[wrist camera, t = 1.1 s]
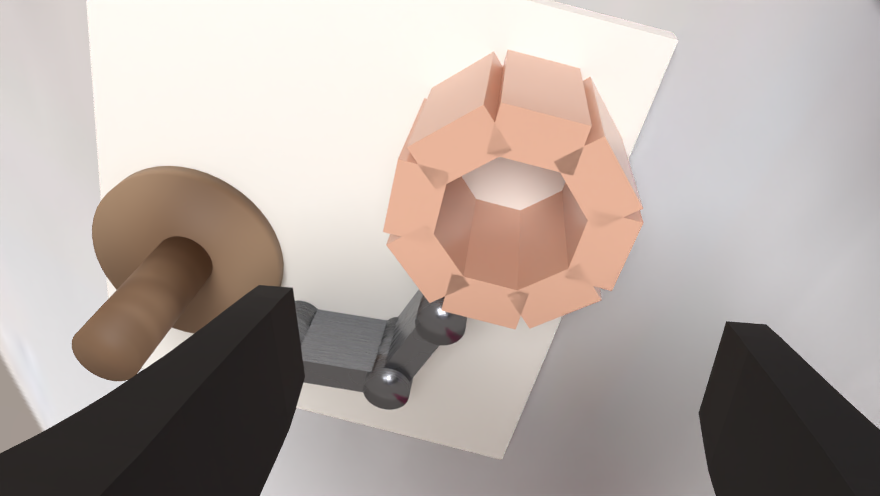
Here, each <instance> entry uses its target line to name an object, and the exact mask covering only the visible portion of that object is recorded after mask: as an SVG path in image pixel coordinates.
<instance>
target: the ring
mask: <svg viewBox="0 0 880 496" xmlns="http://www.w3.org/2000/svg"><path fill="white" fill-rule="evenodd" d="M498 157H503V158H506V159H510V160H514V161H518V162H522V163H526V164H530V165H533V166H537V167H541V168H545V169H549V170H553V171H557V172H560V173H561V175H562V177H563V178H564V180H565V184H564V187H563V190H562V191H560V192H558V193H556V194H554V195H552V196H550V197H548V198H546V199H544V200H541V201H539V202H537V203H535V204H533V205H531V206H529V207H527V208H525V209H523V210H517V209H513V208H509V207H505V206H501V205H498V204H494V203H490V202H486V201H482V200H478V199H476V198H475V196H474V195H473V193H472V192H471V190H470V189H469V187H468V186H467V184H466V183H465V181H464V179H463V178H462V176H463V175H465V174H467V173H469V172H471V171H473V170H475V169H476V168H478V167H480V166H482V165H484V164H486V163H488V162H490V161H492V160H494V159H496V158H498ZM641 209H643V206H642V203H641V200H640V196H639V193H638V189H637V186H636V183H635V179H634V176H633V173H632V169H631V166H630V162H629V159H628V156H627V152H626V149H625V146H624V142H623V139H622V136H621V134H620V132H619V130H618V129H617V127H616V125H615V123H614V121H613V119H612V117H611V115H610V113H609V111H608V109H607V107H606V105H605V103H604V101H603V99H602V98H601V96H600V94H599V92H598V90H597V88H596V86H595V84H594V82H593V80H592V78H591V77H589V78H587V79H585V80H582V75H581V70H580V68H577V67H573V66H570V65H566V64H562V63H558V62H554V61H551V60H547V59H543V58H539V57H535V56H532V55H528V54H524V53H520V52H516V51H512V50H509V49H508V50H507V54H506V57H505V61H504V64H503V66H502V64H501V62H500V61H499V59H498V57H497V56H496V54H495V52H494V51H493V52H492V53H490V54H488V55H487V56H485V57H483V58H482V59H480V60H478V61H476V62H475V63H473V64H471V65H470V66H468V67H466V68H465V69H463V70H461V71H460V72H458V73H456V74H454V75H453V76H451V77H449V78H448V79H446V80H444V81H443V82H441V83H439V84H437V85H436V86H434V87H432V88H431V91H430V93H429V95H428V98H427V99H426V98H424V100H423V102H422V105H421V107H420V109H419V111H418V114H417V116H416V118H415V121H414V123H413V125H412V128H411V130H410V132H409V135H408V137H407V139H406V142H405V144H404V146H403V148H402V151H401V153H400V155H399V158H398V161H397V166H396V171H395V176H394V180H393V185H392V190H391V195H390V200H389V205H388V210H387V214H386V219H385V224H384V229H383V232H385V233H389V234H390V236H389V238H388V241H387V244H386V245H387V247H388V248H389V249H390V251H391V252H392V253H393V255H394V256H395V257H396V259H397V260H398V261H399V263H400V264H401V265H402V267H403V268H404V269H405V271H406V272H407V274H408V275H409V276H410V278H411V279H412V280H413V282H414V283H415V284H416V286H417V287H418V288H419V290H420V291H421V292H422V294H423V295H424V296H425V298H426V299H427V300H428V302H429V303H431V302H433V301H436V300H438V299H440V298H442V297H444V299H443V304H442V309H441V311H445V312H449V313H453V314H457V315H461V316H464V317H468V318H472V319H476V320H480V321H484V322H488V323H492V324H496V325H500V326H504V327H507V328H511V329H515V330H516V327H517V324H518V322H519V319H520V316H521V317H522V318H523V320H524V321H525V322H526V324H527V325H528V327H529V328H533V327H535V326H538V325H540V324H543V323H546V322H548V321H551V320H553V319H556V318H558V317H561V316H563V315H566V314H568V313H571V312H573V311H576V310H578V309H581V308H583V307H586V306H588V305H591V304H593V303H596V302H598V301H601V293H600V288H602V289H606V290H610V291H612V290H613V288H614V285H615V283H616V281H617V279H618V277H619V275H620V272H621V270H622V268H623V266H624V264H625V262H626V259H627V257H628V255H629V253H630V251H631V249H632V246H633V244H634V242H635V240H636V238H637V236H638V233H639V231H640V229H641V227H642V225H643V220H642V216H641V213H640V210H641Z"/></svg>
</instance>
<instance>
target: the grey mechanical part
mask: <svg viewBox="0 0 880 496" xmlns="http://www.w3.org/2000/svg"><path fill="white" fill-rule="evenodd" d="M443 299H444V297H442V298H440V299H438V300H436V301H433V302H431V303H429V302H428V300H427V299H426V298H425V296H424V295H423V294H422V292H421V291H420V290H418V291H417V292H416V294H415V295H414V296H413V298H412V299H411V300H410V302H409V303H408V304H407V306H406V307H405V308H404V310H403V311H402V312H401V314H400V315H399V316H398V317H393V318H390V319H389V320H381V319H375V318H369V317H363V316H357V315H350V314H344V313H338V312H332V311H325V310H319V309H317V308H316V307H315V306H313V305H312V304H310V303H308V302H305V301H295V307H296V314H297V321H298V329H299V336H300V343H301V350H302V358H303V365H304V372H305V379H304V382H303V383H309V384H315V385H321V386H327V387H333V388H339V389H346V390H352V391H358V392H363V393H364V396H365V398H366V399H367V400H368V401H369V402H370V403H371V404H372V405H374V406H376V407H378V408H381V409H386V410H394V409H398V408H400V407H402V406H404V405H405V404H406V403H407V401H408V399H409V395H410V390H411V386H412V382H413V377H414V376H415V375H416V373H417V372H418V371H419V370H420V369H421V367H422V366H423V365H424V364H425V363H426V361H427V360H428V359H429V358H430V356H431V355H432V354H433V353H434V352H435V350H436V349H437V348H438V347H439V346H440V345H451V344H454V343H456V342H457V341H459V340H460V339H461V338H462V337H463V335H464V333H465V329H466V322H467V317H464V316H461V315H457V314H453V313H449V312H445V311H441V309H442V304H443Z"/></svg>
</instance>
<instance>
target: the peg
mask: <svg viewBox="0 0 880 496" xmlns="http://www.w3.org/2000/svg"><path fill="white" fill-rule="evenodd" d="M92 239H93V245H94V249H95V253H96V256H97V259H98V261H99V263H100V266H101V268H102V270H103V271H104V273H105V275H106V276H107V278H108V279H109V281H110V282H111V283H112V285H113V286H114V287H115V288H116V291H115V292H114V293H113V295H112V296H111V297H110V298H109V299H108V300H107V301H106V302H105V303H104V304H103V305H102V306H101V307H100V308H99V310H98V311H97V312H96V313H95V314H94V315H93V316H92V317H91V318H90V319H89V320H88V321H87V322H86V323H85V325H84V326H83V327H82V328H81V329H80V330H79V331H78V332H77V333H76V334H75V335H74V337H73V339H72V350H73V353H74V355H75V357H76V358H77V360H78V361H79V362H80V363H81V364H82V365H83V366H84V367H85V368H86V369H87V370H88V371H90V372H91V373H93V374H95V375H97V376H99V377H101V378H104V379H107V380H111V381H125V380H129V379H131V378H132V377H134V376H135V375H136V374H137V373H138V372H139V370H140V369H141V368H142V366H143V365H144V364H145V362H146V361H147V360H148V358H149V357H150V356H151V354H152V353H153V352H154V350H155V349H156V348H157V346H158V345H159V344H160V342H161V341H162V340H163V338H164V337H165V336H166V334H167V333H168V332H169V330H170V329H171V328H174V329H177V330H181V331H184V332H189V333H196V332H197V331H198V330H200V329H201V328H202V327H204V326H205V325H206V324H208V323H209V322H210V321H212V320H213V319H214V318H215V317H217V316H218V315H219V314H221V313H222V312H223V311H225V310H226V309H227V308H228V307H230V306H231V305H232V304H234V303H235V302H236V301H238V300H239V299H240V298H242V297H243V296H244V295H246V294H247V293H248V292H250V291H251V290H252V289H254V288H255V287H257V286H258V285H265V286H278V287H280V286H281V283H282V278H283V271H284V262H283V254H282V250H281V246H280V243H279V240H278V238H277V236H276V233H275V231H274V230H273V228H272V226H271V224H270V223H269V221H268V220H267V218H266V217H265V216H264V214H263V213H262V212H261V211H260V209H259V208H258V207H257V206H256V205H255V204H254V203H253V202H252V201H251V200H250V199H249V198H248V197H246V196H245V195H244V194H243V193H242V192H240V191H239V190H237V189H236V188H235V187H233V186H232V185H230V184H228V183H227V182H225V181H223V180H221V179H219V178H217V177H215V176H213V175H210V174H208V173H205V172H202V171H199V170H196V169H191V168H186V167H180V166H156V167H151V168H146V169H143V170H140V171H138V172H135V173H133V174H131V175H130V176H128V177H126V178H125V179H124V180H122V181H121V182H120V183H119V184H118V185H116V186H115V187H114V188H113V189H111V190H110V191H109V192H108V193H107V194H106V195H105V196H104V198H103V199H102V200H101V202H100V204H99V205H98V207H97V209H96V212H95V215H94V219H93V225H92Z"/></svg>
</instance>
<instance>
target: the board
mask: <svg viewBox="0 0 880 496" xmlns="http://www.w3.org/2000/svg"><path fill="white" fill-rule="evenodd" d="M86 3H87V17H88V30H89V44H90V58H91V71H92V85H93V99H94V113H95V126H96V140H97V154H98V168H99V181H100V195H101V200H102V199H103V198H104V196H105V195H106V194H107V193H108V192H109V191H110V190H111V189H113V188H114V187H115V186H116V185H118V184H119V183H120V182H121V181H122V180H124V179H125V178H126V177H128V176H130V175H131V174H133V173H135V172H138V171H140V170H143V169H146V168H151V167H156V166H180V167H186V168H191V169H196V170H199V171H202V172H205V173H208V174H210V175H213V176H215V177H217V178H219V179H221V180H223V181H225V182H227V183H228V184H230V185H232V186H233V187H235V188H236V189H237V190H239V191H240V192H242V193H243V194H244V195H245V196H246V197H248V198H249V199H250V200H251V201H252V202H253V203H254V204H255V205H256V206H257V207H258V208H259V209H260V211H261V212H262V213H263V214H264V216H265V217H266V218H267V220H268V221H269V223H270V224H271V226H272V228H273V230H274V231H275V233H276V236H277V238H278V240H279V243H280V246H281V250H282V254H283V262H284V271H283V278H282V283H281V286H280V287H291V288H293V292H294V299H295V301H305V302H308V303H310V304H312V305H313V306H315V307H316V308H317V309H319V310H325V311H332V312H338V313H344V314H350V315H357V316H363V317H369V318H375V319H381V320H389V319H390V318H393V317H398V316H399V315H400V314H401V312H402V311H403V310H404V308H405V307H406V306H407V304H408V303H409V302H410V300H411V299H412V298H413V296H414V295H415V294H416V292H417V291H418V290H419V288H418V287H417V286H416V284H415V283H414V282H413V280H412V279H411V278H410V276H409V275H408V274H407V272H406V271H405V269H404V268H403V267H402V265H401V264H400V263H399V261H398V260H397V259H396V257H395V256H394V255H393V253H392V252H391V251H390V249H389V248H388V247H387V245H386V244H387V241H388V238H389V236H390V234H389V233H385V232H383V229H384V224H385V219H386V214H387V210H388V205H389V200H390V195H391V190H392V185H393V180H394V176H395V171H396V166H397V161H398V158H399V155H400V153H401V151H402V148H403V146H404V144H405V142H406V139H407V137H408V135H409V132H410V130H411V128H412V125H413V123H414V121H415V118H416V116H417V114H418V111H419V109H420V107H421V105H422V102H423V100H424V98H426V99H427V98H428V95H429V93H430V91H431V88H432V87H434V86H436V85H437V84H439V83H441V82H443V81H444V80H446V79H448V78H449V77H451V76H453V75H454V74H456V73H458V72H460V71H461V70H463V69H465V68H466V67H468V66H470V65H471V64H473V63H475V62H476V61H478V60H480V59H482V58H483V57H485V56H487V55H488V54H490V53H492V52H493V51H494V52H495V54H496V56H497V57H498V59H499V61H500V62H501V64H502V66H503V64H504V61H505V57H506V54H507V50H508V49H509V50H512V51H516V52H520V53H524V54H528V55H532V56H535V57H539V58H543V59H547V60H551V61H554V62H558V63H562V64H566V65H570V66H573V67H577V68H580V70H581V75H582V80H585V79H587V78H589V77H591V78H592V80H593V82H594V84H595V86H596V88H597V90H598V92H599V94H600V96H601V98H602V99H603V101H604V103H605V105H606V107H607V109H608V111H609V113H610V115H611V117H612V119H613V121H614V123H615V125H616V127H617V129H618V130H619V132H620V134H621V136H622V139H623V142H624V146H625V149H626V152H627V156H628V159H629V157H630V154H631V152H632V150H633V147H634V145H635V142H636V140H637V138H638V135H639V133H640V131H641V128H642V126H643V123H644V121H645V119H646V116H647V114H648V111H649V109H650V107H651V104H652V102H653V100H654V97H655V95H656V92H657V90H658V88H659V85H660V83H661V81H662V78H663V76H664V73H665V71H666V69H667V66H668V64H669V61H670V59H671V57H672V54H673V52H674V50H675V47H676V45H677V42H678V39H677V37H676V36H675V35H674V33H673V32H670V31H666V30H663V29H659V28H655V27H651V26H647V25H644V24H640V23H636V22H632V21H628V20H625V19H621V18H617V17H613V16H610V15H606V14H602V13H598V12H594V11H591V10H587V9H583V8H579V7H575V6H572V5H568V4H564V3H560V2H556V1H553V0H86ZM462 178H463V179H464V181H465V183H466V184H467V186H468V187H469V189H470V190H471V192H472V193H473V195H474V196H475V198H476V199H478V200H482V201H486V202H490V203H494V204H498V205H501V206H505V207H509V208H513V209H517V210H523V209H525V208H527V207H529V206H531V205H533V204H535V203H537V202H539V201H541V200H544V199H546V198H548V197H550V196H552V195H554V194H556V193H558V192H560V191H562V190H563V187H564V184H565V180H564V178H563V177H562V175H561V173H560V172H557V171H553V170H549V169H545V168H541V167H537V166H533V165H530V164H526V163H522V162H518V161H514V160H510V159H506V158H503V157H498V158H496V159H494V160H492V161H490V162H488V163H486V164H484V165H482V166H480V167H478V168H476V169H475V170H473V171H471V172H469V173H467V174H465V175H463V176H462ZM106 277H107V276H106ZM107 291H108V299H109V298H110V297H111V296H112V295H113V293H114V292H115V291H116V288H115V287H114V286H113V285H112V283H111V282H110V281H109V279H108V278H107ZM561 319H562V316H561V317H558V318H556V319H553V320H551V321H548V322H546V323H543V324H540V325H538V326H535V327H533V328H529V327H528V325H527V324H526V322H525V321H524V320H523V318H522V317H521V316H520V319H519V322H518V324H517V327H516V330H515V329H511V328H507V327H504V326H500V325H496V324H492V323H488V322H484V321H480V320H476V319H472V318H468V317H467V322H466V329H465V333H464V335H463V337H462V338H461V339H460V340H459V341H457V342H456V343H454V344H451V345H440V346H439V347H438V348H437V349H436V350H435V352H434V353H433V354H432V355H431V356H430V358H429V359H428V360H427V361H426V363H425V364H424V365H423V366H422V367H421V369H420V370H419V371H418V372H417V373H416V375H415V376H414V377H413V382H412V386H411V390H410V395H409V399H408V401H407V403H406V404H405V405H404V406H402V407H400V408H398V409H394V410H386V409H381V408H378V407H376V406H374V405H372V404H371V403H370V402H369V401H368V400H367V399H366V398H365V396H364V393H363V392H358V391H352V390H346V389H339V388H333V387H327V386H321V385H315V384H309V383H303V386H302V389H301V393H300V396H299V400H298V403H297V407H296V408H298V409H302V410H306V411H310V412H314V413H318V414H322V415H326V416H330V417H334V418H338V419H342V420H346V421H350V422H354V423H358V424H362V425H366V426H369V427H373V428H377V429H381V430H385V431H389V432H393V433H397V434H401V435H405V436H409V437H413V438H417V439H421V440H425V441H429V442H433V443H437V444H441V445H445V446H449V447H452V448H456V449H460V450H464V451H468V452H472V453H476V454H480V455H484V456H488V457H492V458H496V459H500V460H502V459H503V457H504V454H505V452H506V450H507V447H508V445H509V442H510V440H511V438H512V435H513V433H514V431H515V428H516V426H517V423H518V421H519V419H520V416H521V414H522V411H523V409H524V407H525V404H526V402H527V400H528V397H529V395H530V392H531V390H532V388H533V385H534V383H535V381H536V378H537V376H538V373H539V371H540V369H541V366H542V364H543V361H544V359H545V357H546V354H547V352H548V350H549V347H550V345H551V342H552V340H553V338H554V335H555V333H556V331H557V328H558V326H559V323H560V321H561ZM193 334H194V333H189V332H184V331H181V330H177V329H174V328H171V329H170V330H169V332H168V333H167V334H166V336H165V337H164V338H163V340H162V341H161V342H160V344H159V345H158V346H157V348H156V349H155V350H154V352H153V353H152V354H151V356H150V357H149V358H148V360H147V361H146V362H145V364H144V365H143V366H142V368H141V369H145V368H147V367H148V366H150V365H151V364H153V363H154V362H156V361H157V360H159V359H160V358H161V357H163V356H164V355H166V354H167V353H169V352H170V351H171V350H173V349H174V348H175V347H177V346H178V345H179V344H181V343H182V342H183V341H185V340H186V339H188V338H189V337H190V336H192V335H193Z"/></svg>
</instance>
